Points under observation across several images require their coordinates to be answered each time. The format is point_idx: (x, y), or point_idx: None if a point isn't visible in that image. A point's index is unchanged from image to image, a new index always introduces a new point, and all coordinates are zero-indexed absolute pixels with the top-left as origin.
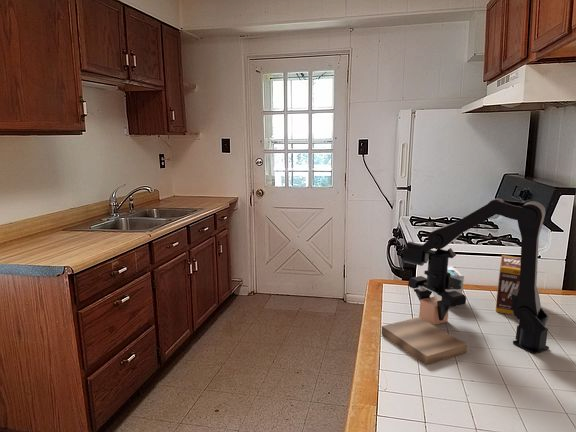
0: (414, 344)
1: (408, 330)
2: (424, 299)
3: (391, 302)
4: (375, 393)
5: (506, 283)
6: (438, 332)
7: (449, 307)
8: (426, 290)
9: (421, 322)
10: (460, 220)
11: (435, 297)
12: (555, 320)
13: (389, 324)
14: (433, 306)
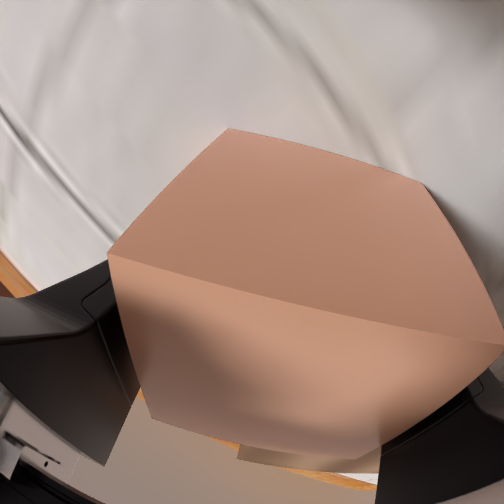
0: (372, 470)
1: (318, 457)
2: (169, 413)
3: (4, 222)
4: (363, 482)
5: None
6: None
7: (497, 389)
8: (41, 426)
9: None
10: None
11: (165, 297)
12: None
13: (242, 453)
14: (341, 454)
